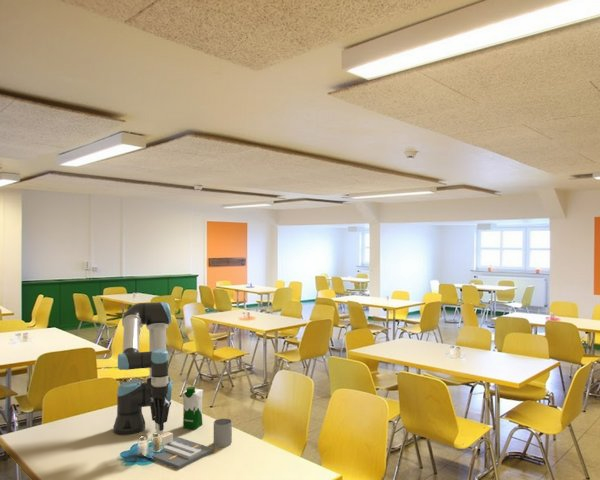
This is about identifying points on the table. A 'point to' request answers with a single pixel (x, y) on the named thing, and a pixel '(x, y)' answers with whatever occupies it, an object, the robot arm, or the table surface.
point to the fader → (167, 438)
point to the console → (182, 453)
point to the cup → (222, 432)
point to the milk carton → (192, 408)
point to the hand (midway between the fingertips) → (159, 437)
